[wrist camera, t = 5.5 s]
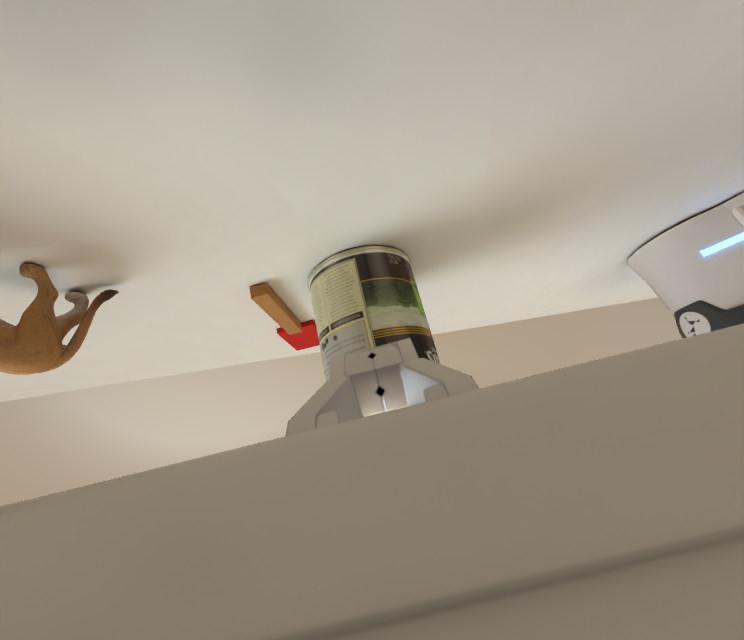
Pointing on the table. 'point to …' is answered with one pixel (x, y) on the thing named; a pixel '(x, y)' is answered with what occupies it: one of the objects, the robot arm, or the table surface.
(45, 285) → the lion figurine
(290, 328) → the spatula
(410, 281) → the coffee can
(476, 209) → the table surface
